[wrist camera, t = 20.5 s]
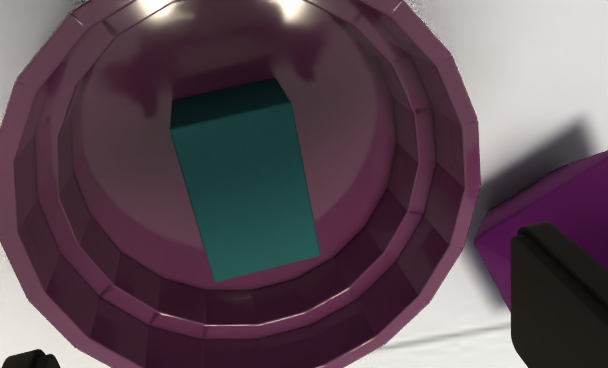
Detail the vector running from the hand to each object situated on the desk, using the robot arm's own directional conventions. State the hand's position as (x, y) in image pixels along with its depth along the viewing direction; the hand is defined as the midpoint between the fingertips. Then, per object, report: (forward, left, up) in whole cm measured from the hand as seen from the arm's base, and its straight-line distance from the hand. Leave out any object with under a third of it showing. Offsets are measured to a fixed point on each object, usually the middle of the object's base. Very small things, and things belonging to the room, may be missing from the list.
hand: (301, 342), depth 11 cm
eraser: (+1, 0, -12) cm, 12 cm away
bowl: (0, 0, -13) cm, 13 cm away
